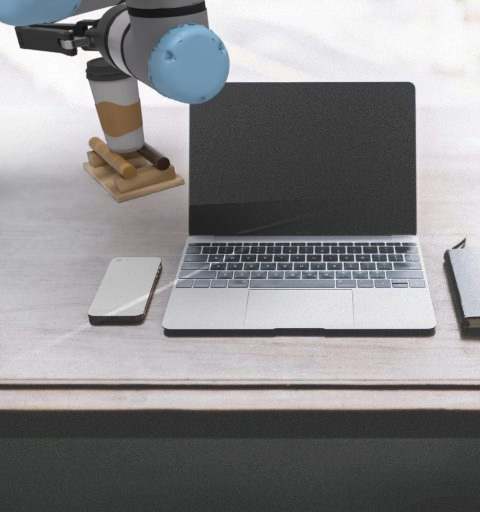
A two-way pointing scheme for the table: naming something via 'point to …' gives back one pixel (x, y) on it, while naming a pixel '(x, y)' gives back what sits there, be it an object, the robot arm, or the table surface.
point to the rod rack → (130, 170)
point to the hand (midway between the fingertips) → (81, 17)
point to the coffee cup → (116, 105)
